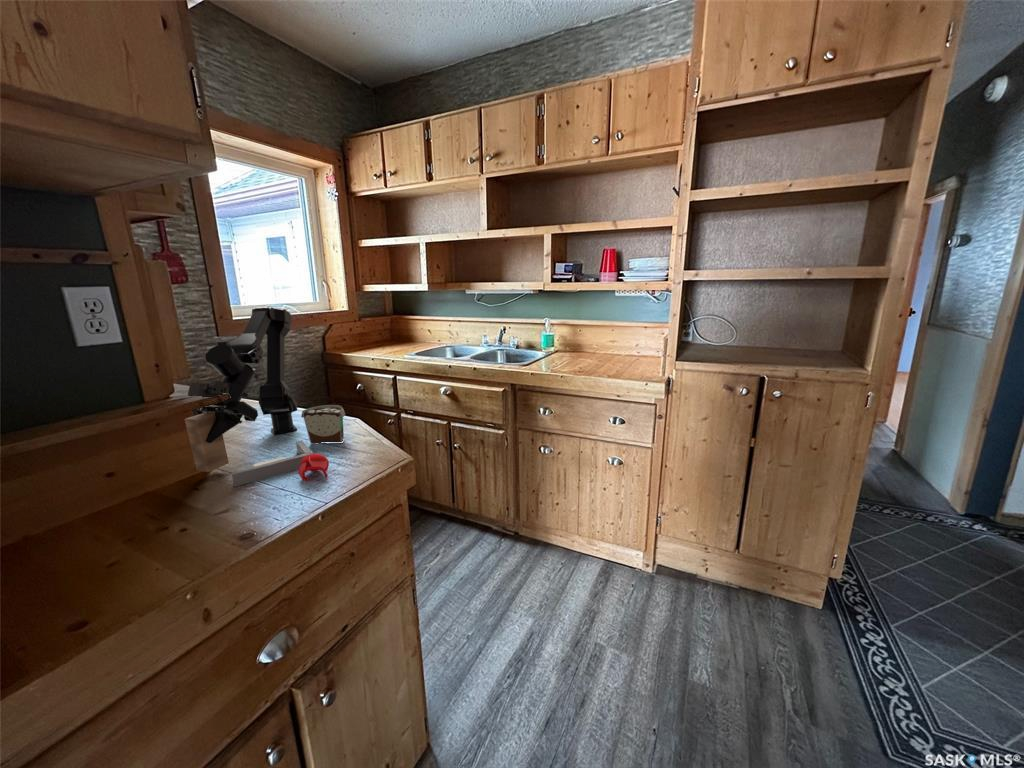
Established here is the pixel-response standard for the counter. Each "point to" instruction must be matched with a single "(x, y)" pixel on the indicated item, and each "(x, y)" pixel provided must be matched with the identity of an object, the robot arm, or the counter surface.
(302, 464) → the cap
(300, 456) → the grey long angled bar
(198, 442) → the walnut block
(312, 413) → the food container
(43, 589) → the counter surface
